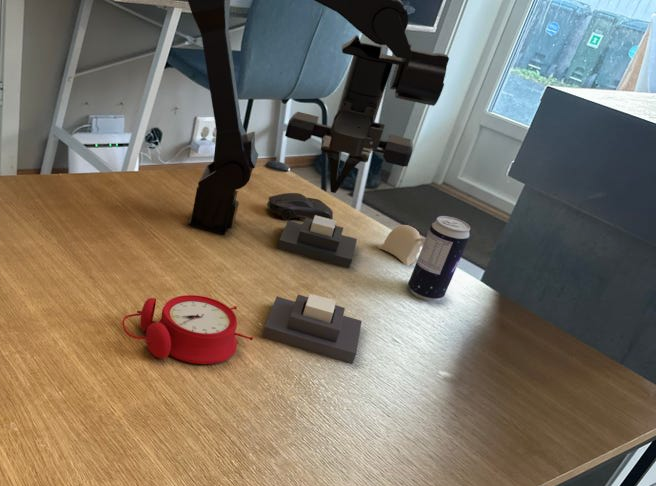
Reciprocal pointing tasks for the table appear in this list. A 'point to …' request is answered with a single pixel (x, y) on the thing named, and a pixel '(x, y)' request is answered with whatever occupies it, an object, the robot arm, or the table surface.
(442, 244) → the beverage can
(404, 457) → the table surface
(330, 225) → the back key
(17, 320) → the table surface
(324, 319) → the front key
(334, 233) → the back keypad
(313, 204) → the toy car
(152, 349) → the alarm clock
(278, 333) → the front keypad
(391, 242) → the decorative ornament
